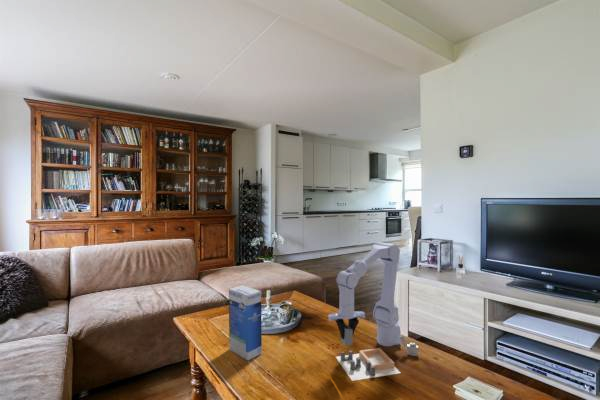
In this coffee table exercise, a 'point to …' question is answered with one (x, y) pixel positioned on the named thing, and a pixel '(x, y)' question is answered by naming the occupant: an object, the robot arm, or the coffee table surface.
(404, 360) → the coffee table surface
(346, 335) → the block
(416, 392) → the coffee table surface
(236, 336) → the string lights box
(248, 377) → the coffee table surface
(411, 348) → the lighter
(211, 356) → the coffee table surface
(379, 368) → the frame
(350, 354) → the board
